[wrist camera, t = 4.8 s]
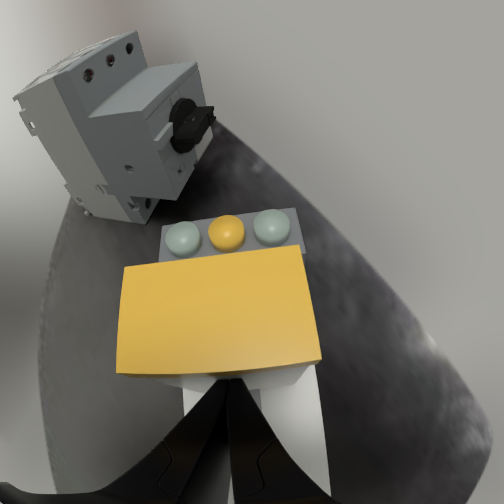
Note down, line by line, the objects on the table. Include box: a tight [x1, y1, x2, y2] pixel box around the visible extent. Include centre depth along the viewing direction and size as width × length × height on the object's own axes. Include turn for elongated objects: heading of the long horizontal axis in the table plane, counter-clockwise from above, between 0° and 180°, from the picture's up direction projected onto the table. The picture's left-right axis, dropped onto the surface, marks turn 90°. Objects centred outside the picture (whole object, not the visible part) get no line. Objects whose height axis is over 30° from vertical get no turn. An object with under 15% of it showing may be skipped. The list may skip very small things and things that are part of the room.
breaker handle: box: [116, 245, 322, 393], centre depth 11 cm, size 3×5×9 cm, turn 96°
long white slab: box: [159, 208, 331, 504], centre depth 11 cm, size 24×8×6 cm, turn 6°
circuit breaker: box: [13, 30, 216, 224], centre depth 19 cm, size 8×14×15 cm, turn 75°
